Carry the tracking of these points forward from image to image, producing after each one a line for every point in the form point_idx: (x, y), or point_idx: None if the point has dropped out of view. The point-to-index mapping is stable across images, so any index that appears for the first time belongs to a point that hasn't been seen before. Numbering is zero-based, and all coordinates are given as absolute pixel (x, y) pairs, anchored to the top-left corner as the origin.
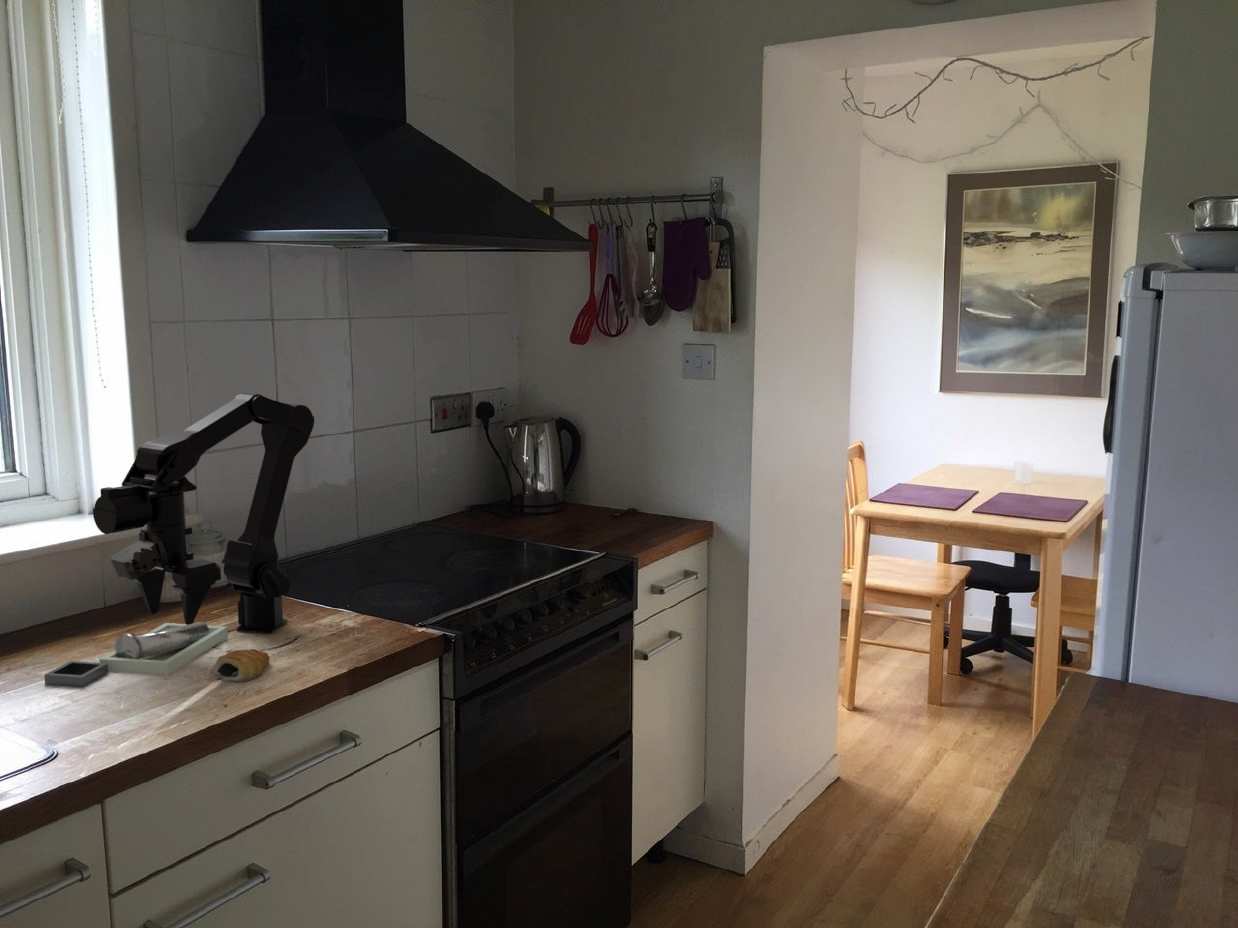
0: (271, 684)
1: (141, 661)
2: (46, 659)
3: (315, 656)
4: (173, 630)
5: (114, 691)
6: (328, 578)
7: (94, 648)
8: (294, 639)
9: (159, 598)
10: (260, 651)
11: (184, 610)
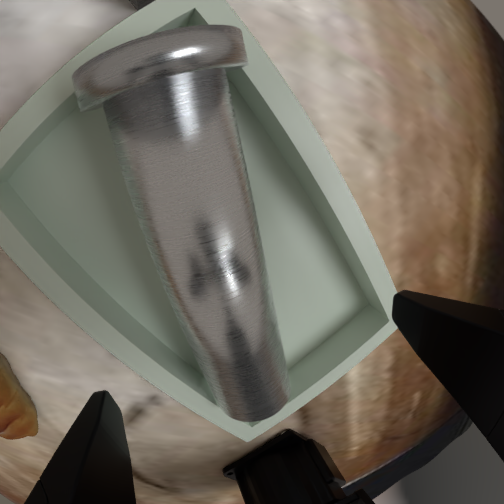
0: None
1: (31, 100)
2: (422, 5)
3: (37, 473)
4: (211, 326)
5: (8, 9)
6: (383, 490)
7: (431, 118)
8: (157, 484)
9: (433, 369)
10: (10, 435)
11: (69, 453)
